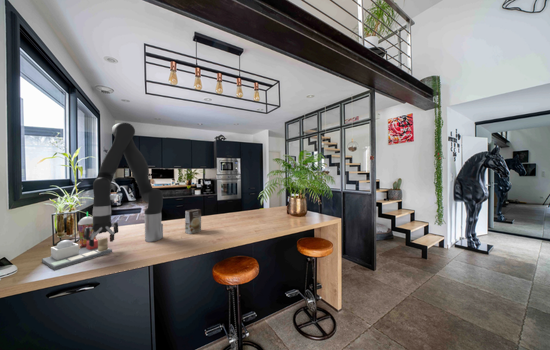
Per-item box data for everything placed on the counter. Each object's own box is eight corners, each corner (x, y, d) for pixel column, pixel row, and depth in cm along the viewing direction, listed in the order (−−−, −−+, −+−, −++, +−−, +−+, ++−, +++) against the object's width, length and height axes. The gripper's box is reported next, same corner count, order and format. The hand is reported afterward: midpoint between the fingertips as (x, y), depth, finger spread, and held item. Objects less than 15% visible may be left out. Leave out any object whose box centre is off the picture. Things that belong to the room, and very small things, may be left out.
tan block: (105, 247, 111) (105, 237, 111) (109, 249, 109) (108, 238, 109) (96, 250, 107) (96, 239, 107) (100, 251, 105) (99, 240, 105)
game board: (98, 246, 117) (97, 236, 117) (112, 252, 109) (112, 240, 109) (41, 261, 97) (41, 249, 97) (54, 269, 89) (53, 256, 89)
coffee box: (189, 234, 139) (189, 211, 138) (185, 232, 142) (184, 210, 142) (201, 231, 146) (201, 209, 146) (196, 229, 150) (196, 208, 150)
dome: (70, 248, 105) (70, 237, 105) (75, 250, 103) (75, 239, 102) (54, 252, 100) (54, 241, 100) (58, 255, 97) (58, 243, 97)
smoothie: (75, 246, 117) (74, 212, 117) (92, 241, 125) (91, 210, 125) (83, 248, 114) (82, 213, 114) (100, 243, 122) (99, 211, 122)
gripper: (114, 211, 115) (113, 239, 115) (81, 215, 102) (81, 247, 103) (120, 212, 112) (120, 241, 112) (88, 217, 99) (88, 249, 99)
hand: (102, 243), depth 107 cm, fingers open, 8 cm apart
